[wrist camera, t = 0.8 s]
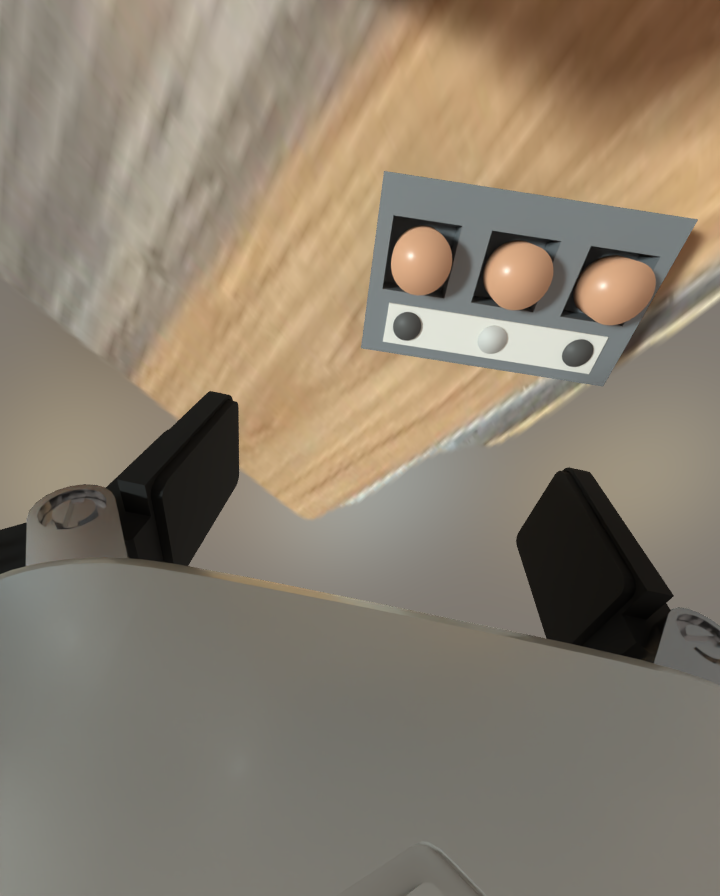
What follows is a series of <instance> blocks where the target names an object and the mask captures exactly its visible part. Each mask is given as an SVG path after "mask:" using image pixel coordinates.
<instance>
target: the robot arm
mask: <svg viewBox="0 0 720 896" xmlns="http://www.w3.org/2000/svg"><path fill="white" fill-rule="evenodd" d="M238 478H239V423H238V403H237V402H235V401H233V399H232V397H231V396H230V395H227V394H222V393H217V392H212V391H209V392H208V393H207V394H206V395H205V396H204V397H203V398H202V399H200V400H199V401H198V402H197V403H196V404H195V405H194V406H193V407H192V408H191V409H190V410H189V411H188V412H187V413H186V414H185V415H184V416H183V417H182V418H181V419H180V420H179V421H178V422H177V423H176V424H175V425H173V427H171V428H170V429H169V430H167V431H166V432H164V433H163V434H162V435H161V436H160V437H159V438H158V439H157V440H156V441H154V442H153V443H152V444H151V445H150V446H149V447H148V448H147V449H146V450H145V451H144V452H143V453H142V454H141V455H140V456H139V457H138V458H137V459H136V460H135V461H133V462H132V463H131V464H130V465H129V466H128V467H127V468H126V469H125V470H124V471H123V472H122V473H121V474H120V475H119V476H118V477H117V478H116V479H115V480H114V481H113V482H111V483H110V484H109V485H108V486H107V487H106V488H105V487H101V486H98V485H86V484H84V485H76V486H70V487H66V488H63V489H59V490H57V491H55V492H52V493H50V494H48V495H46V496H45V497H43V498H42V499H40V500H39V501H38V502H36V503H35V505H34V506H33V507H32V508H31V509H30V511H29V514H28V517H27V523H23V524H20V525H17V526H13V527H9V528H5V529H2V530H0V896H720V626H719V625H718V624H717V623H715V622H714V621H712V620H711V619H709V618H708V617H706V616H704V615H702V614H700V613H698V612H696V611H693V610H690V609H687V608H680V607H678V608H675V609H672V610H670V609H669V607H668V606H667V604H666V602H667V601H669V600H670V599H671V598H672V597H673V594H672V592H671V591H670V590H669V588H668V587H667V585H666V584H665V582H664V581H663V579H662V578H661V576H660V575H659V573H658V572H657V570H656V569H655V567H654V566H653V564H652V563H651V562H650V560H649V559H648V557H647V555H646V554H645V553H644V551H643V550H642V548H641V547H640V545H639V544H638V542H637V541H636V539H635V538H634V536H633V535H632V533H631V532H630V530H629V529H628V527H627V526H626V525H625V523H624V521H623V520H622V518H621V517H620V516H619V514H618V513H617V511H616V510H615V508H614V507H613V505H612V504H611V502H610V501H609V499H608V498H607V496H606V495H605V493H604V492H603V490H602V489H601V487H600V486H599V485H598V483H597V481H596V480H595V479H594V477H593V476H592V474H591V473H590V472H587V471H583V470H578V469H573V468H565V469H564V470H563V471H558V472H557V473H556V474H555V475H554V477H553V479H552V480H551V482H550V483H549V485H548V487H547V488H546V490H545V491H544V493H543V495H542V496H541V498H540V500H539V501H538V503H537V504H536V506H535V507H534V509H533V510H532V512H531V514H530V515H529V517H528V518H527V520H526V522H525V523H524V525H523V526H522V528H521V530H520V531H519V533H518V535H517V540H516V542H517V547H518V551H519V554H520V557H521V560H522V563H523V566H524V569H525V573H526V576H527V578H528V582H529V585H530V588H531V591H532V595H533V598H534V601H535V604H536V607H537V610H538V613H539V617H540V620H541V623H542V626H543V629H544V632H545V635H546V638H547V639H545V638H541V637H536V636H531V635H526V634H522V633H517V632H512V631H508V630H503V629H498V628H493V627H488V626H484V625H479V624H475V623H469V622H464V621H460V620H455V619H450V618H446V617H441V616H436V615H431V614H426V613H421V612H417V611H412V610H407V609H402V608H397V607H393V606H387V605H383V604H378V603H373V602H368V601H363V600H358V599H353V598H348V597H344V596H339V595H334V594H329V593H324V592H318V591H314V590H309V589H304V588H299V587H294V586H289V585H284V584H279V583H274V582H269V581H264V580H259V579H254V578H249V577H244V576H239V575H233V574H228V573H222V572H217V571H211V570H206V569H200V568H195V567H190V566H188V565H189V563H190V562H191V560H192V558H193V557H194V555H195V553H196V552H197V550H198V548H199V547H200V545H201V543H202V542H203V540H204V538H205V536H206V535H207V533H208V532H209V530H210V528H211V527H212V525H213V523H214V522H215V520H216V518H217V517H218V515H219V513H220V512H221V510H222V508H223V507H224V505H225V503H226V502H227V500H228V498H229V497H230V495H231V493H232V492H233V490H234V488H235V487H236V485H237V482H238Z"/></svg>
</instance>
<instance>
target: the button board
mask: <svg viewBox="0 0 720 896" xmlns="http://www.w3.org/2000/svg"><path fill="white" fill-rule="evenodd" d="M697 220H698V219H691V218H685V217H678V216H672V215H665V214H659V213H652V212H646V211H640V210H633V209H627V208H620V207H614V206H607V205H601V204H594V203H588V202H581V201H575V200H568V199H562V198H555V197H549V196H542V195H536V194H529V193H523V192H516V191H510V190H503V189H497V188H490V187H484V186H477V185H471V184H465V183H458V182H452V181H445V180H439V179H432V178H426V177H419V176H413V175H406V174H400V173H393V172H387V171H384V177H383V184H382V192H381V200H380V207H379V215H378V223H377V230H376V238H375V245H374V253H373V261H372V268H371V276H370V284H369V291H368V299H367V307H366V314H365V322H364V330H363V337H362V345H361V348H363V349H370V350H376V351H382V352H389V353H395V354H401V355H408V356H414V357H420V358H427V359H433V360H439V361H446V362H452V363H458V364H465V365H471V366H477V367H484V368H490V369H496V370H503V371H509V372H515V373H522V374H528V375H534V376H541V377H547V378H553V379H560V380H566V381H572V382H579V383H585V384H591V385H598V386H604V384H605V382H606V380H607V379H608V377H609V375H610V373H611V372H612V370H613V368H614V366H615V365H616V363H617V361H618V359H619V358H620V356H621V354H622V352H623V351H624V349H625V347H626V345H627V344H628V342H629V340H630V338H631V336H632V335H633V333H634V331H635V329H636V328H637V326H638V324H639V322H640V321H641V319H642V317H643V315H644V314H645V312H646V310H647V308H648V307H649V305H650V303H651V301H652V300H653V298H654V296H655V294H656V293H657V291H658V289H659V287H660V285H661V284H662V282H663V280H664V278H665V277H666V275H667V273H668V271H669V270H670V268H671V266H672V264H673V263H674V261H675V259H676V257H677V256H678V254H679V252H680V250H681V249H682V247H683V245H684V243H685V242H686V240H687V238H688V236H689V235H690V233H691V231H692V229H693V227H694V226H695V224H696V222H697ZM419 225H426V226H430V227H433V228H435V229H436V230H438V231H439V232H440V233H441V234H442V235H443V237H444V238H445V239H446V240H447V242H448V244H449V246H450V249H451V252H452V266H451V270H450V273H449V275H448V277H447V279H446V281H445V282H444V283H443V284H442V285H441V287H439V288H438V289H437V290H435V291H434V292H432V293H429V294H426V295H412V294H409V293H407V292H405V291H404V290H402V289H401V288H400V287H399V286H398V284H397V283H396V281H395V280H394V277H393V274H392V270H391V259H392V254H393V249H394V246H395V244H396V242H397V240H398V239H399V237H400V236H401V235H402V234H403V233H404V232H405V231H407V230H408V229H410V228H412V227H414V226H419ZM514 240H523V241H526V242H529V243H531V244H534V245H536V246H538V247H540V248H542V249H544V250H545V251H546V252H547V253H548V254H549V256H550V258H551V260H552V263H553V278H552V282H551V284H550V286H549V288H548V290H547V292H546V293H545V294H544V296H543V297H542V298H541V299H540V300H539V301H537V302H536V303H535V304H533V305H532V306H530V307H527V308H525V309H521V310H508V309H505V308H502V307H501V306H499V305H498V304H497V303H496V302H495V301H494V300H493V299H492V297H491V296H490V295H489V294H488V292H487V291H486V289H485V287H484V284H483V270H484V266H485V264H486V262H487V260H488V258H489V256H490V255H491V254H492V253H493V252H494V251H495V250H496V249H497V248H498V247H499V246H501V245H502V244H504V243H507V242H509V241H514ZM609 255H619V256H623V257H626V258H630V259H633V260H636V261H639V262H642V263H645V264H646V265H648V266H649V267H650V268H651V269H652V270H653V272H654V274H655V278H656V286H655V291H654V294H653V296H652V298H651V300H650V301H649V303H648V304H647V306H646V307H645V308H644V309H643V310H642V311H641V312H640V313H639V314H638V315H636V316H635V317H634V318H632V319H630V320H628V321H626V322H624V323H621V324H617V325H603V324H600V323H598V322H596V321H595V320H593V319H592V318H590V317H589V316H587V315H586V314H585V313H583V312H582V311H580V310H579V309H578V308H577V307H576V305H575V303H574V299H573V290H574V286H575V283H576V281H577V279H578V277H579V275H580V274H581V273H582V271H583V270H584V269H585V268H586V267H587V266H588V265H590V264H591V263H592V262H594V261H596V260H597V259H599V258H602V257H605V256H609Z"/></svg>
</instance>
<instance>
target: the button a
mask: <svg viewBox="0 0 720 896" xmlns="http://www.w3.org/2000/svg"><path fill="white" fill-rule="evenodd" d="M451 266H452V252H451V249H450V246H449V244H448V242H447V240H446V239H445V238H444V237H443V235H442V234H441V233H440V232H439V231H438V230H436V229H435V228H433V227H430V226H426V225H419V226H414V227H412V228H410V229H408V230H407V231H405V232H404V233H403V234H402V235H401V236H400V237H399V239H398V240H397V242H396V244H395V246H394V249H393V254H392V259H391V270H392V274H393V277H394V280H395V281H396V283H397V284H398V286H399V287H400V288H401V289H402V290H404V291H405V292H407V293H409V294H412V295H426V294H429V293H432V292H434V291H435V290H437V289H438V288H439V287H441V285H442V284H443V283H444V282H445V281H446V279H447V277H448V275H449V273H450V270H451Z"/></svg>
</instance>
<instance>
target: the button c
mask: <svg viewBox="0 0 720 896" xmlns="http://www.w3.org/2000/svg"><path fill="white" fill-rule="evenodd" d="M655 286H656V278H655V274H654V272H653V270H652V269H651V268H650V267H649V266H648V265H646V264H645V263H642V262H639V261H636V260H633V259H630V258H626V257H623V256H619V255H609V256H605V257H602V258H599V259H597V260H596V261H594V262H592V263H591V264H590V265H588V266H587V267H586V268H585V269H584V270H583V271H582V273H581V274H580V275H579V277H578V279H577V281H576V283H575V286H574V290H573V299H574V303H575V305H576V307H577V308H578V309H579V310H580V311H582V312H583V313H585V314H586V315H587V316H589V317H590V318H592V319H593V320H595V321H596V322H598V323H600V324H603V325H617V324H621V323H624V322H626V321H628V320H630V319H632V318H634V317H635V316H636V315H638V314H639V313H640V312H641V311H642V310H643V309H644V308H645V307H646V306H647V304H648V303H649V301H650V300H651V298H652V296H653V294H654V291H655Z"/></svg>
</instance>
